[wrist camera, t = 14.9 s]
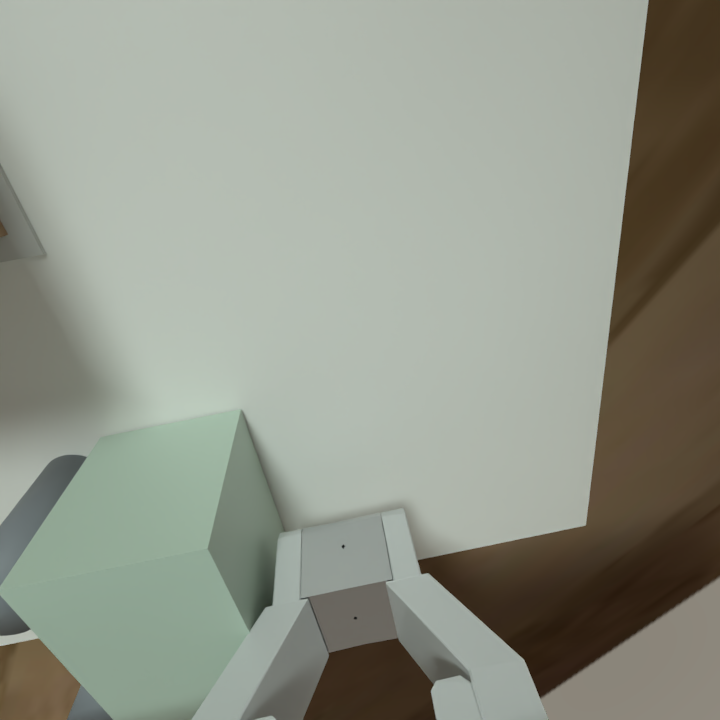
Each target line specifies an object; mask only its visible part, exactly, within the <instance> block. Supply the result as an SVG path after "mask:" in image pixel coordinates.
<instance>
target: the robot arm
mask: <svg viewBox="0 0 720 720" xmlns="http://www.w3.org/2000/svg"><path fill="white" fill-rule="evenodd" d="M381 517H382V518H381ZM382 522H383V523H382ZM383 527H384V528H383ZM396 638H398V639H399V641H400V643H401V644H402V645H403V646H404V648H405V649H406V650H407V651H408V653H409V654H410V655H411V656H412V658H413V659H414V660H415V662H416V663H417V664H418V665H419V667H420V668H421V669H422V670H423V672H424V673H425V674H426V676H427V677H428V678H429V679H430V681H431V682H432V683H433V684H434V686H433V688H432V690H431V695H432V701H433V707H434V712H435V718H436V720H549V719H548V717H547V714H546V712H545V709H544V707H543V704H542V702H541V700H540V697H539V695H538V692H537V690H536V687H535V685H534V682H533V680H532V678H531V675H530V673H529V670H528V668H527V665H526V663H525V660H524V659H523V658H522V657H520V656H519V655H518V654H517V653H516V652H515V651H514V650H513V649H512V648H510V647H509V646H508V645H507V644H506V643H505V642H504V641H503V640H502V639H501V638H499V637H498V636H497V635H496V634H495V633H494V632H493V631H492V630H491V629H490V628H488V627H487V626H486V625H485V624H484V623H483V622H482V621H481V620H480V619H478V618H477V617H476V616H475V615H474V614H473V613H472V612H471V611H470V610H469V609H467V608H466V607H465V606H464V605H463V604H462V603H461V602H460V601H459V600H457V599H456V598H455V597H454V596H453V595H452V594H451V593H450V592H449V591H448V590H446V589H445V588H444V587H443V586H442V585H441V584H440V583H439V582H438V581H437V580H435V579H434V578H433V577H432V576H431V575H430V574H429V573H426V574H421V571H420V567H419V564H418V560H417V556H416V552H415V548H414V544H413V540H412V536H411V532H410V529H409V525H408V521H407V517H406V513H405V510H404V509H403V508H400V509H395V510H390V511H386V512H381V514H380V513H375V514H371V515H366V516H362V517H357V518H353V519H348V520H344V521H339V522H336V523H331V524H325V525H320V526H314V527H309V528H303V529H299V530H294V531H289V532H283V533H280V534H279V537H278V540H277V552H276V565H275V578H274V591H273V604H272V606H269V607H265V609H264V610H263V612H262V613H261V615H260V616H259V618H258V619H257V621H256V622H255V624H254V625H253V627H252V628H251V630H250V633H249V634H247V636H246V637H245V639H244V640H243V642H242V643H241V645H240V647H239V648H238V650H237V651H236V653H235V654H234V656H233V657H232V659H231V660H230V662H229V663H228V665H227V666H226V668H225V669H224V671H223V672H222V674H221V675H220V677H219V678H218V680H217V681H216V683H215V685H214V686H213V688H212V689H211V691H210V692H209V694H208V695H207V697H206V698H205V700H204V701H203V703H202V704H201V706H200V707H199V709H198V710H197V712H196V713H195V715H194V716H193V718H192V719H191V720H303V718H304V716H305V713H306V711H307V708H308V706H309V703H310V701H311V699H312V696H313V694H314V691H315V689H316V686H317V684H318V682H319V679H320V677H321V674H322V672H323V670H324V667H325V665H326V662H327V660H328V657H329V654H328V653H330V652H334V651H338V650H342V649H347V648H351V647H355V646H359V645H363V644H368V643H374V642H379V641H385V640H391V639H396Z"/></svg>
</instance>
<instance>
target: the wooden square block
mask: <svg viewBox="0 0 720 720" xmlns="http://www.w3.org/2000/svg"><path fill="white" fill-rule="evenodd" d="M6 235H8V233H7V232H6V230H5V228H4V226H3V224H2V222H1V221H0V237H3V236H6Z"/></svg>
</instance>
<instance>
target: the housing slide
mask: <svg viewBox="0 0 720 720" xmlns="http://www.w3.org/2000/svg"><path fill="white" fill-rule="evenodd" d="M283 532H285V530H284V527H283V525H282V522H281V519H280V516H279V514H278V511H277V508H276V505H275V503H274V500H273V497H272V494H271V491H270V489H269V486H268V483H267V480H266V478H265V475H264V472H263V469H262V467H261V464H260V461H259V458H258V455H257V453H256V450H255V447H254V444H253V442H252V439H251V436H250V433H249V430H248V428H247V425H246V422H245V419H244V417H243V414H242V411H241V409H240V410H235V411H230V412H225V413H220V414H215V415H210V416H205V417H200V418H195V419H190V420H185V421H180V422H174V423H169V424H164V425H159V426H154V427H149V428H144V429H139V430H134V431H129V432H124V433H119V434H114V435H109V436H104V437H100V439H99V440H98V442H97V443H96V445H95V446H94V448H93V449H92V451H91V452H90V454H89V455H88V457H87V458H86V460H85V461H84V463H83V464H82V466H81V467H80V469H79V470H78V471H77V473H76V474H75V476H74V477H73V479H72V480H71V482H70V483H69V485H68V486H67V488H66V489H65V491H64V492H63V494H62V495H61V497H60V498H59V500H58V501H57V503H56V504H55V506H54V507H53V509H52V510H51V512H50V513H49V514H48V516H47V517H46V519H45V520H44V522H43V523H42V525H41V526H40V528H39V529H38V531H37V532H36V534H35V535H34V537H33V538H32V540H31V541H30V543H29V544H28V546H27V547H26V549H25V550H24V552H23V553H22V555H21V556H20V557H19V559H18V560H17V562H16V563H15V565H14V566H13V568H12V569H11V571H10V572H9V574H8V575H7V577H6V578H5V580H4V581H3V583H2V584H1V586H0V596H1V597H2V598H3V599H4V600H5V601H6V602H7V604H8V605H9V606H10V607H11V608H12V609H13V610H14V611H15V612H16V613H17V615H18V616H19V617H20V618H21V619H22V620H23V621H24V622H25V623H26V624H27V626H28V627H29V628H30V629H31V630H32V631H33V632H34V633H35V634H36V635H37V636H38V638H39V639H40V640H41V641H42V642H43V643H44V644H45V645H46V646H47V647H48V649H49V650H50V651H51V652H52V653H53V654H54V655H55V656H56V657H57V658H58V660H59V661H60V662H61V663H62V664H63V665H64V666H65V667H66V668H67V669H68V671H69V672H70V673H71V674H72V675H73V676H74V677H75V678H76V679H77V680H78V682H79V683H80V684H81V685H82V686H83V687H84V688H85V689H86V690H87V691H88V693H89V694H90V695H91V696H92V697H93V698H94V699H95V700H96V701H97V702H98V704H99V705H100V706H101V707H102V708H103V709H104V710H105V711H106V712H107V713H108V715H109V716H110V717H111V718H112V719H113V720H191V719H192V718H193V716H194V715H195V713H196V712H197V710H198V709H199V707H200V706H201V704H202V703H203V701H204V700H205V698H206V697H207V695H208V694H209V692H210V691H211V689H212V688H213V686H214V685H215V683H216V681H217V680H218V678H219V677H220V675H221V674H222V672H223V671H224V669H225V668H226V666H227V665H228V663H229V662H230V660H231V659H232V657H233V656H234V654H235V653H236V651H237V650H238V648H239V647H240V645H241V643H242V642H243V640H244V639H245V637H246V636H247V634H249V633H250V630H251V628H252V627H253V625H254V624H255V622H256V621H257V619H258V618H259V616H260V615H261V613H262V612H263V610H264V609H265V607H269V606H272V604H273V591H274V578H275V565H276V552H277V540H278V537H279V534H280V533H283Z"/></svg>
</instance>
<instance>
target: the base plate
mask: <svg viewBox="0 0 720 720" xmlns="http://www.w3.org/2000/svg"><path fill="white" fill-rule="evenodd" d="M647 9H648V0H0V221H1V222H2V224H3V226H4V228H5V230H6V232H7V233H8V235H6V236H3V237H0V586H1V584H2V583H3V581H4V580H5V578H6V577H7V575H8V574H9V572H10V571H11V569H12V568H13V566H14V565H15V563H16V562H17V560H18V559H19V557H20V556H21V555H22V553H23V552H24V550H25V549H26V547H27V546H28V544H29V543H30V541H31V540H32V538H33V537H34V535H35V534H36V532H37V531H38V529H39V528H40V526H41V525H42V523H43V522H44V520H45V519H46V517H47V516H48V514H49V513H50V512H51V510H52V509H53V507H54V506H55V504H56V503H57V501H58V500H59V498H60V497H61V495H62V494H63V492H64V491H65V489H66V488H67V486H68V485H69V483H70V482H71V480H72V479H73V477H74V476H75V474H76V473H77V471H78V470H79V469H80V467H81V466H82V464H83V463H84V461H85V460H86V458H87V457H88V455H89V454H90V452H91V451H92V449H93V448H94V446H95V445H96V443H97V442H98V440H99V439H100V437H104V436H109V435H114V434H119V433H124V432H129V431H134V430H139V429H144V428H149V427H154V426H159V425H164V424H169V423H174V422H180V421H185V420H190V419H195V418H200V417H205V416H210V415H215V414H220V413H225V412H230V411H235V410H240V409H241V411H242V414H243V417H244V419H245V422H246V425H247V428H248V430H249V433H250V436H251V439H252V442H253V444H254V447H255V450H256V453H257V455H258V458H259V461H260V464H261V467H262V469H263V472H264V475H265V478H266V480H267V483H268V486H269V489H270V491H271V494H272V497H273V500H274V503H275V505H276V508H277V511H278V514H279V516H280V519H281V522H282V525H283V527H284V530H285V532H289V531H294V530H299V529H303V528H309V527H314V526H320V525H325V524H331V523H336V522H339V521H344V520H348V519H353V518H357V517H362V516H366V515H371V514H375V513H380V514H381V512H386V511H390V510H395V509H400V508H403V509H404V510H405V513H406V517H407V521H408V525H409V529H410V532H411V536H412V540H413V544H414V548H415V552H416V556H417V560H420V559H425V558H430V557H435V556H440V555H445V554H450V553H454V552H459V551H464V550H469V549H474V548H479V547H484V546H488V545H493V544H498V543H503V542H508V541H513V540H518V539H522V538H527V537H532V536H537V535H542V534H547V533H552V532H556V531H561V530H566V529H571V528H576V527H581V526H586V520H587V511H588V503H589V495H590V486H591V478H592V469H593V461H594V453H595V444H596V436H597V428H598V419H599V411H600V402H601V394H602V386H603V377H604V369H605V361H606V352H607V344H608V335H609V327H610V319H611V310H612V302H613V294H614V285H615V277H616V268H617V260H618V252H619V243H620V235H621V226H622V218H623V210H624V201H625V193H626V185H627V176H628V168H629V159H630V151H631V143H632V134H633V126H634V118H635V109H636V101H637V92H638V84H639V76H640V67H641V59H642V51H643V42H644V34H645V25H646V17H647ZM381 518H382V517H381ZM382 523H383V522H382ZM383 528H384V527H383ZM37 638H38V636H37V635H36V634H35V633H34V632H33V631H32V630H31V629H30V628H29V627H28V626H27V624H26V623H25V622H24V621H23V620H22V619H21V618H20V617H19V616H18V615H17V613H16V612H15V611H14V610H13V609H12V608H11V607H10V606H9V605H8V604H7V602H6V601H5V600H4V599H3V598H2V597H1V596H0V646H3V645H8V644H12V643H17V642H22V641H27V640H32V639H37ZM67 720H113V719H112V718H111V717H110V716H109V715H108V713H107V712H106V711H105V710H104V709H103V708H102V707H101V706H100V705H99V704H98V702H97V701H96V700H95V699H94V698H93V697H92V696H91V695H90V694H89V693H88V691H87V690H86V689H85V688H84V687H83V686H82V685H81V687H80V689H79V692H78V694H77V696H76V699H75V701H74V704H73V706H72V709H71V711H70V714H69V716H68V719H67Z"/></svg>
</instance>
